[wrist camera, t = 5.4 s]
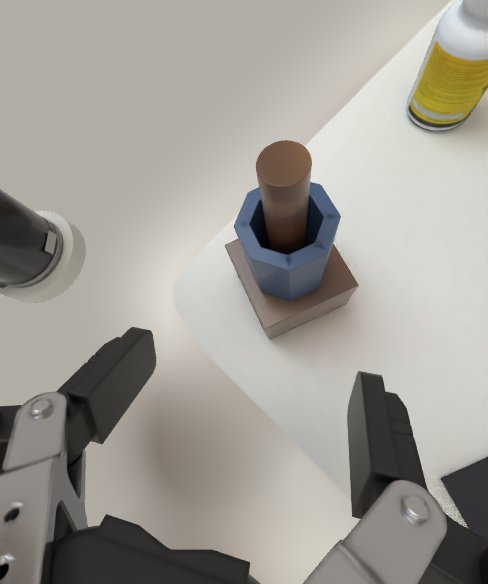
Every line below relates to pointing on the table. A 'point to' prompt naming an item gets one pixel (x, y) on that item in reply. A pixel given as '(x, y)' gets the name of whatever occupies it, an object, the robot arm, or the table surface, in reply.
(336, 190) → the table surface
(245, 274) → the stand
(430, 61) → the pill bottle
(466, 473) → the pad
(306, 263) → the blue hollow octagonal tube
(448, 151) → the table surface
